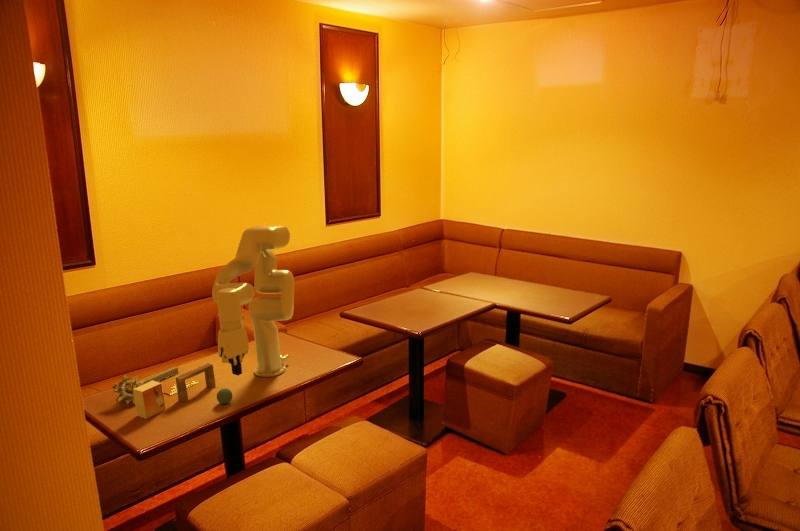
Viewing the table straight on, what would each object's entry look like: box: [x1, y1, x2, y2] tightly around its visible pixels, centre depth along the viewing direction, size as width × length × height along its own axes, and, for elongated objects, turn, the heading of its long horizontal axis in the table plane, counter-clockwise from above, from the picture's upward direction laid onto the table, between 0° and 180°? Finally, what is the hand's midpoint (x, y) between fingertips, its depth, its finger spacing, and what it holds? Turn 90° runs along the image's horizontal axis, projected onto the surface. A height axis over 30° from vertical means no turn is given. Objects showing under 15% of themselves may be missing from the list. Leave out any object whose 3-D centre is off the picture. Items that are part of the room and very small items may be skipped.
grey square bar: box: [143, 366, 179, 384], centre depth 226 cm, size 16×2×2 cm, turn 146°
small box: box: [133, 380, 166, 420], centre depth 199 cm, size 8×6×10 cm
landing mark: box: [169, 380, 200, 397], centre depth 221 cm, size 13×13×1 cm
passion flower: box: [112, 374, 144, 406], centre depth 210 cm, size 11×11×12 cm
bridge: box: [174, 362, 216, 403], centre depth 213 cm, size 3×14×9 cm, turn 146°
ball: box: [216, 388, 233, 405], centre depth 204 cm, size 6×6×6 cm
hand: (237, 373), depth 196 cm, fingers closed
